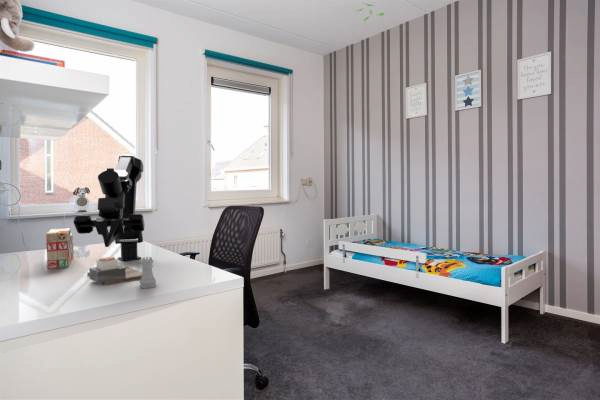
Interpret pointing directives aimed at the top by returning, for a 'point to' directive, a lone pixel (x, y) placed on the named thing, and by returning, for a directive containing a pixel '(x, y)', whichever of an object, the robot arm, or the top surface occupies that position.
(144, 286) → the rook chess piece
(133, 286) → the top surface
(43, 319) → the top surface
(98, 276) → the key console
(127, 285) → the top surface
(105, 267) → the key cap
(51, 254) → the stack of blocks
